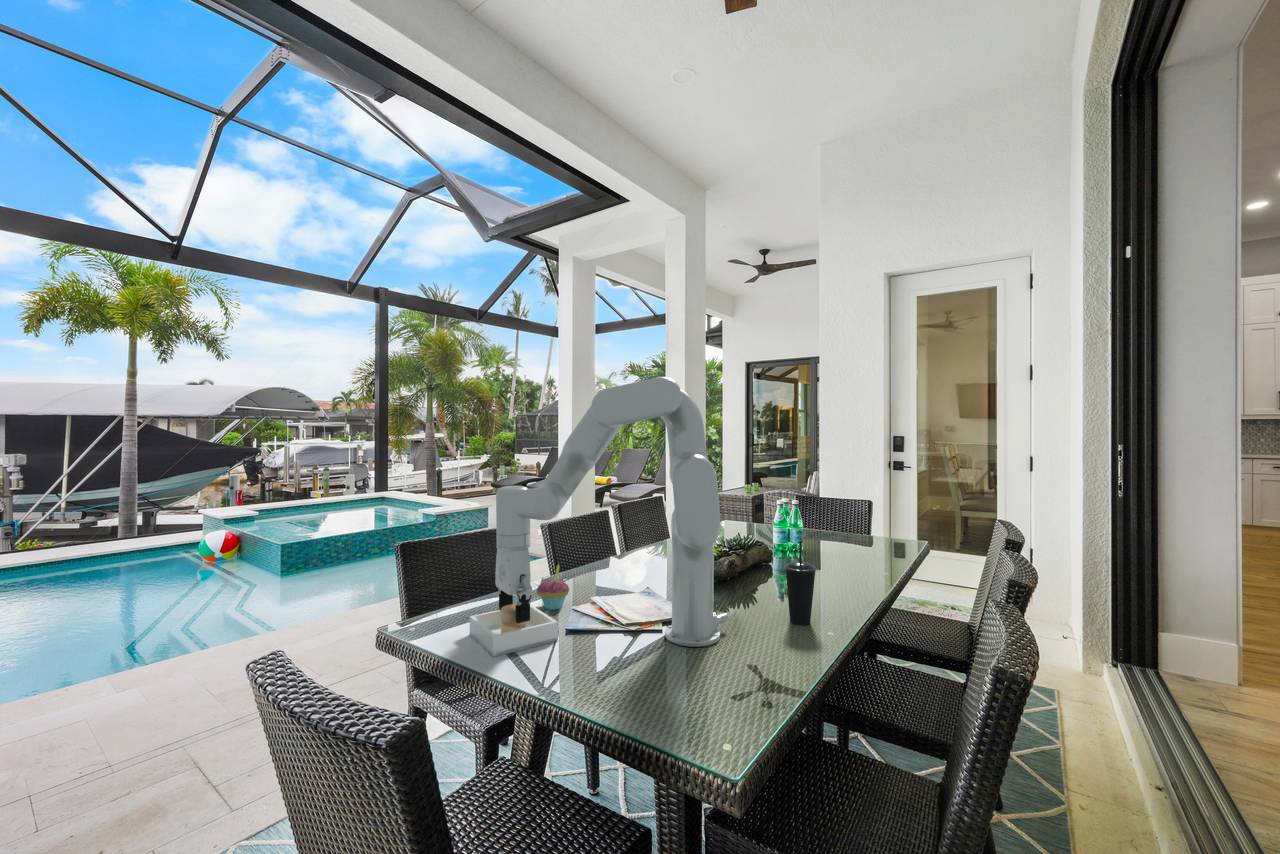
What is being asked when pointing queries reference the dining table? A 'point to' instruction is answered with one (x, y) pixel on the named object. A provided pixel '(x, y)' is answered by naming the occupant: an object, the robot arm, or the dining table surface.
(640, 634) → the dining table surface
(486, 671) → the dining table surface
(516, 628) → the beige cylinder
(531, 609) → the serving dish
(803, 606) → the drinking cup
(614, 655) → the dining table surface
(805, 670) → the dining table surface
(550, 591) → the cupcake
